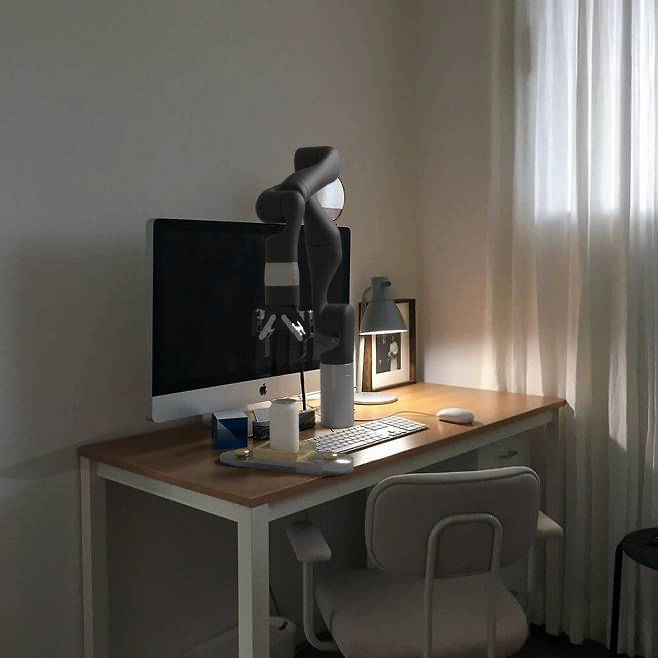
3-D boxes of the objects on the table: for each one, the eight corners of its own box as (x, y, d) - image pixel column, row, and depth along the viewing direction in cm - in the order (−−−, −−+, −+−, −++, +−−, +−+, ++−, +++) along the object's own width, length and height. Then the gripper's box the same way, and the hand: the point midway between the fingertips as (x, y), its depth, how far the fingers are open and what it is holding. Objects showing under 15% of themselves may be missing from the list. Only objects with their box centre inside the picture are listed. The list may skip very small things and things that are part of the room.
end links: (211, 463, 174) (210, 444, 173) (234, 452, 184) (234, 434, 183) (343, 478, 162) (342, 457, 161) (360, 465, 171) (360, 445, 171)
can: (298, 449, 176) (297, 397, 175) (299, 456, 170) (298, 403, 169) (270, 450, 176) (269, 398, 174) (270, 457, 169) (269, 403, 168)
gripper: (318, 282, 169) (319, 356, 171) (261, 282, 175) (262, 353, 176) (304, 284, 162) (305, 360, 164) (244, 284, 168) (246, 358, 169)
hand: (283, 357), depth 170 cm, fingers open, 8 cm apart
